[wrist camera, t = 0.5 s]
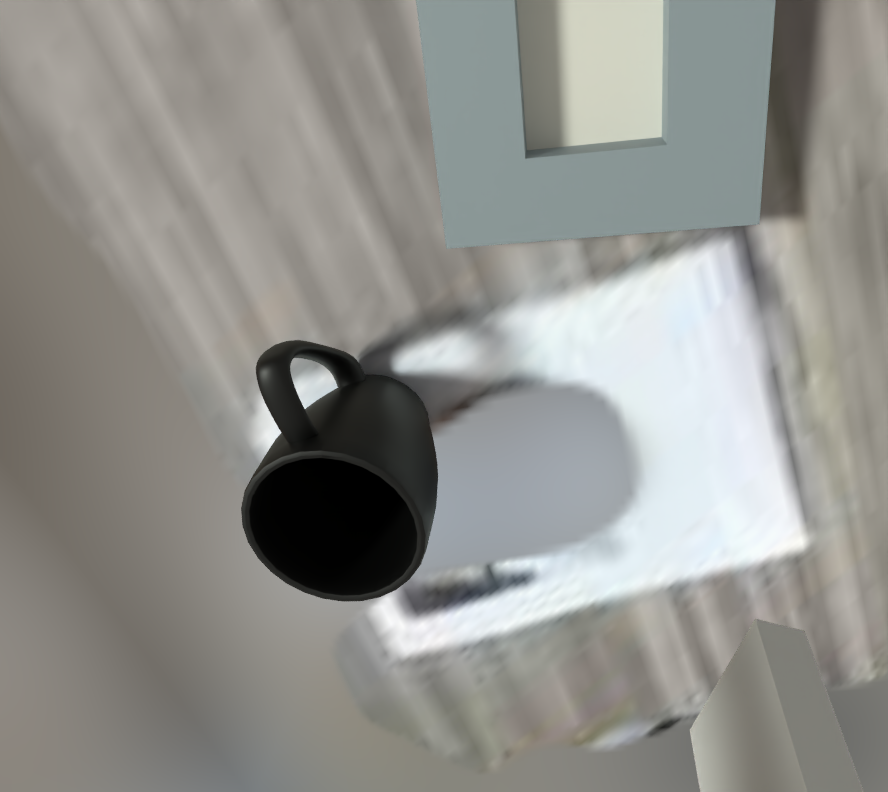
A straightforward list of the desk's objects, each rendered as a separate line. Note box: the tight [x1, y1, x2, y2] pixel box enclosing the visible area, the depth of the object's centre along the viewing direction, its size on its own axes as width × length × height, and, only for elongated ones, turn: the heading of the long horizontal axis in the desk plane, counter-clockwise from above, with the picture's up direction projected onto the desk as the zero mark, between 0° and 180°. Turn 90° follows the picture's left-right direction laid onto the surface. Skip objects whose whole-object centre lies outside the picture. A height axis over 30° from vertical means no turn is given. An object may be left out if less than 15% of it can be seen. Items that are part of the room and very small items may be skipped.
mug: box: [241, 340, 438, 601], centre depth 36 cm, size 8×12×10 cm
